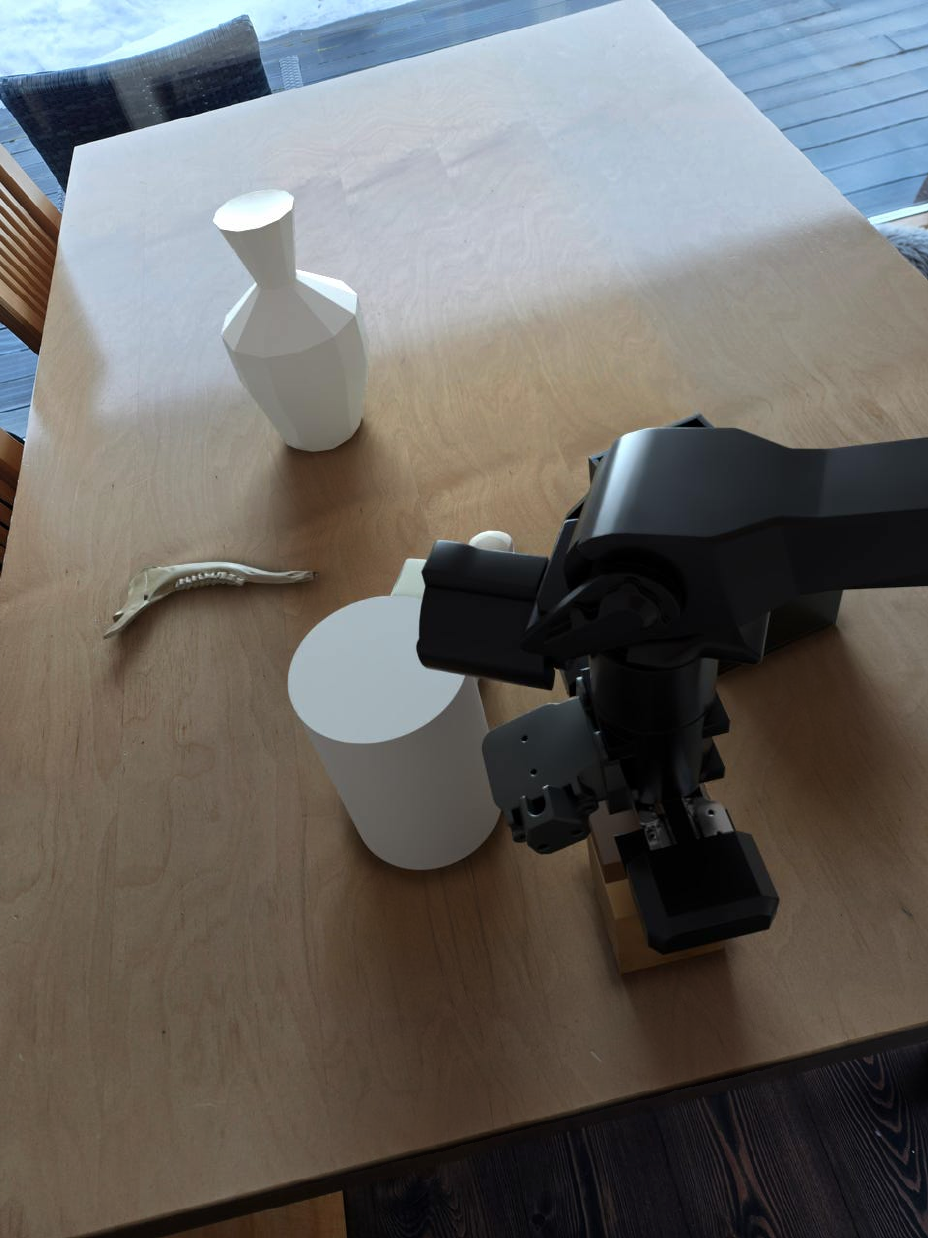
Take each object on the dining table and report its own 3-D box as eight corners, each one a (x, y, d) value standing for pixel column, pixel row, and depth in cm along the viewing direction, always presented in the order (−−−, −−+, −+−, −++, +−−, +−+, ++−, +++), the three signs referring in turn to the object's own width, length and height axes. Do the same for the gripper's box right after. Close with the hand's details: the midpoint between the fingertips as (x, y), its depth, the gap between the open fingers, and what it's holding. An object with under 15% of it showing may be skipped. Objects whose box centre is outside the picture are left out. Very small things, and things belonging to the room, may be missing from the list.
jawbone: (110, 590, 93) (101, 575, 91) (307, 528, 95) (301, 512, 93) (111, 651, 86) (101, 635, 85) (322, 583, 88) (316, 567, 87)
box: (489, 650, 80) (469, 561, 71) (476, 691, 77) (453, 604, 69) (431, 643, 81) (405, 555, 73) (416, 682, 79) (388, 596, 70)
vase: (319, 487, 97) (237, 266, 78) (240, 438, 105) (149, 226, 86) (415, 414, 103) (361, 191, 84) (334, 373, 110) (267, 160, 92)
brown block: (699, 796, 56) (700, 775, 54) (723, 855, 54) (725, 835, 52) (587, 823, 56) (584, 803, 54) (605, 884, 54) (603, 865, 52)
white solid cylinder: (518, 745, 73) (487, 604, 60) (482, 882, 66) (439, 756, 53) (381, 726, 76) (325, 588, 64) (333, 855, 70) (259, 729, 57)
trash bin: (836, 624, 76) (850, 559, 70) (715, 677, 74) (719, 616, 69) (696, 475, 89) (699, 412, 84) (592, 518, 88) (587, 456, 82)
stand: (688, 852, 65) (691, 788, 58) (724, 949, 61) (732, 891, 54) (591, 876, 65) (583, 814, 58) (620, 974, 61) (615, 920, 54)
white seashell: (515, 541, 88) (512, 522, 86) (516, 580, 84) (513, 561, 82) (470, 546, 88) (465, 527, 86) (470, 585, 85) (465, 566, 83)
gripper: (449, 580, 49) (489, 740, 61) (529, 912, 37) (560, 1032, 49) (654, 530, 49) (654, 699, 61) (801, 845, 37) (766, 981, 49)
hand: (653, 837), depth 55 cm, fingers closed on brown block, 4 cm apart
